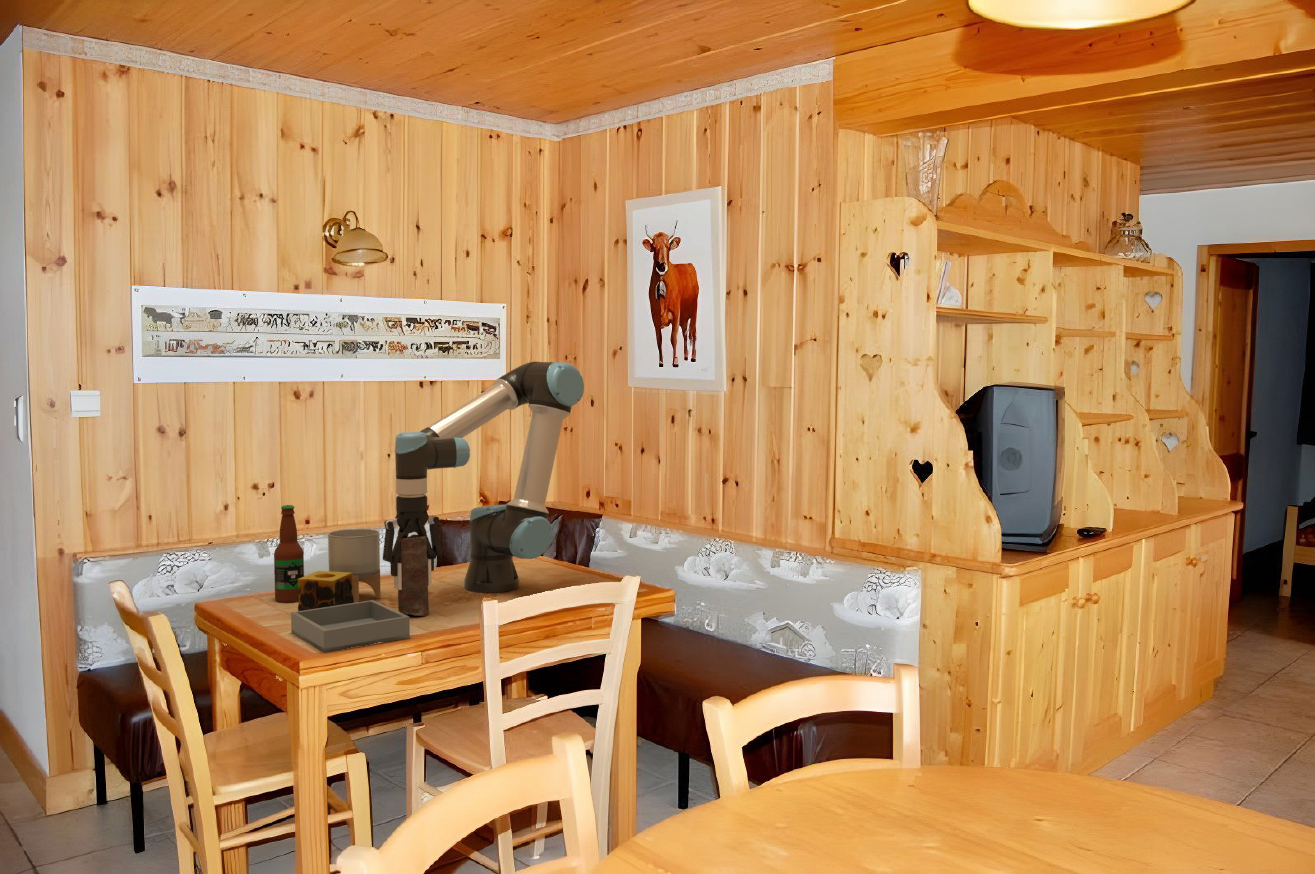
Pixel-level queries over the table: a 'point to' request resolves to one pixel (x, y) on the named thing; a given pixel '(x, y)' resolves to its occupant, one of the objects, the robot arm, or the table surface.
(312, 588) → the candle
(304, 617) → the bin
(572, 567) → the table surface
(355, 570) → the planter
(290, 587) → the bottle
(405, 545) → the candle
